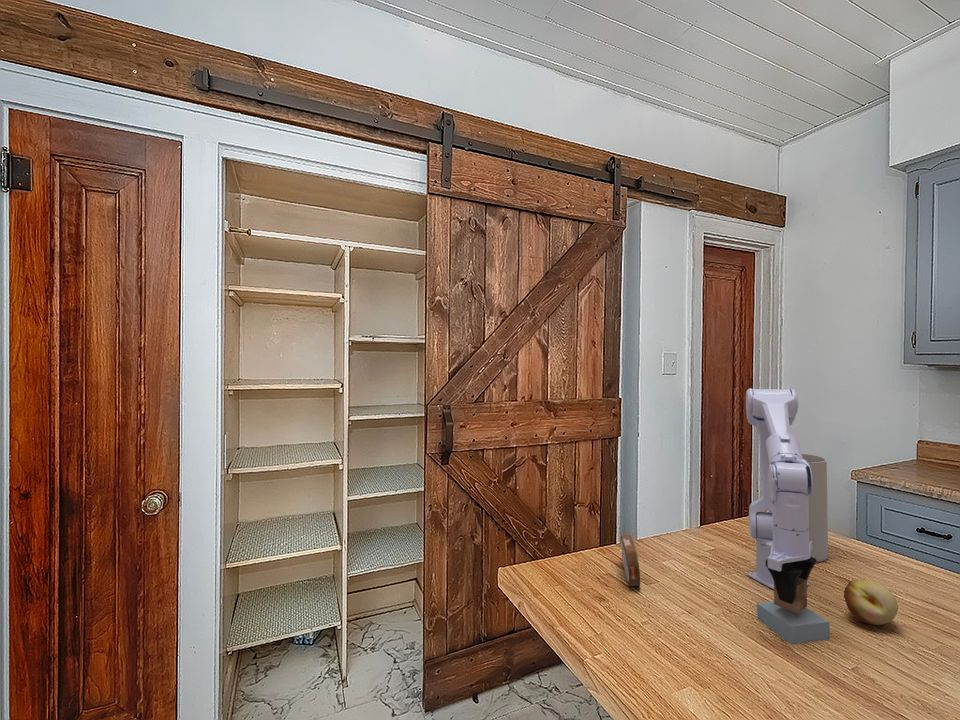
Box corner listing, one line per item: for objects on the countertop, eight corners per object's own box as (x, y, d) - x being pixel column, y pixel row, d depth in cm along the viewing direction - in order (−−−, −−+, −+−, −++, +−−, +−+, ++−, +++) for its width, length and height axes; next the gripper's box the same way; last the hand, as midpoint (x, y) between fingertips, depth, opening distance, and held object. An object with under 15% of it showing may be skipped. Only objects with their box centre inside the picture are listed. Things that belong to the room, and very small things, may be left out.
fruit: (835, 617, 89) (835, 577, 89) (860, 608, 93) (860, 568, 93) (882, 639, 82) (881, 595, 82) (907, 628, 86) (906, 585, 86)
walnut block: (783, 597, 89) (782, 572, 89) (807, 606, 86) (806, 580, 86) (774, 604, 87) (773, 578, 87) (798, 613, 83) (797, 586, 83)
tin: (641, 593, 100) (641, 555, 100) (626, 592, 100) (626, 554, 100) (632, 563, 115) (632, 529, 114) (619, 562, 115) (619, 529, 115)
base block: (793, 616, 91) (792, 599, 91) (829, 640, 83) (829, 621, 83) (757, 620, 89) (756, 603, 89) (790, 646, 81) (790, 626, 81)
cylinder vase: (777, 539, 128) (776, 450, 127) (832, 552, 118) (831, 457, 118) (763, 552, 119) (761, 457, 119) (822, 568, 110) (820, 465, 110)
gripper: (783, 512, 93) (784, 578, 93) (749, 528, 85) (750, 600, 85) (824, 522, 88) (825, 592, 88) (792, 540, 79) (793, 617, 79)
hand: (791, 597), depth 86 cm, fingers closed on walnut block, 4 cm apart
